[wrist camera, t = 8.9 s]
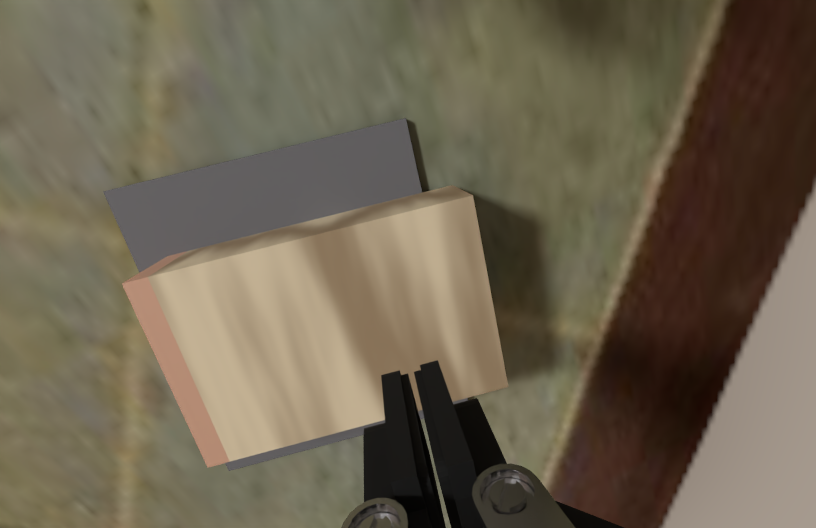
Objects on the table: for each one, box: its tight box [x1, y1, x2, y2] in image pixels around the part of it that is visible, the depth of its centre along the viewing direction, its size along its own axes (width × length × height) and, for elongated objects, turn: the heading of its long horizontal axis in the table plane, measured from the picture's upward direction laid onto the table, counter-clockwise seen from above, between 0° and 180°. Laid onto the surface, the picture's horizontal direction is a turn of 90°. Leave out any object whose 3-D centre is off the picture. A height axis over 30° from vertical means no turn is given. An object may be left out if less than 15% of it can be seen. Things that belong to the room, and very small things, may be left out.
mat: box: [104, 118, 468, 471], centre depth 22 cm, size 14×16×1 cm
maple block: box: [122, 185, 508, 467], centre depth 20 cm, size 4×9×14 cm
